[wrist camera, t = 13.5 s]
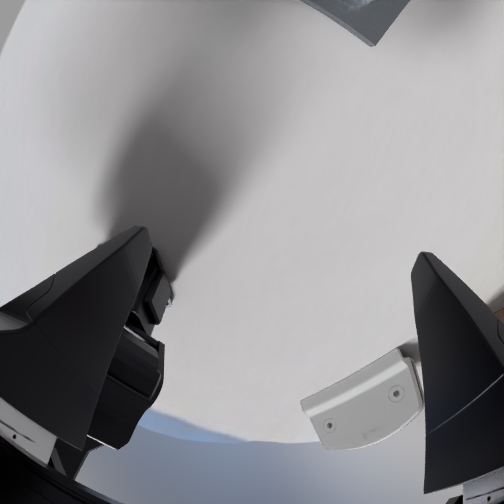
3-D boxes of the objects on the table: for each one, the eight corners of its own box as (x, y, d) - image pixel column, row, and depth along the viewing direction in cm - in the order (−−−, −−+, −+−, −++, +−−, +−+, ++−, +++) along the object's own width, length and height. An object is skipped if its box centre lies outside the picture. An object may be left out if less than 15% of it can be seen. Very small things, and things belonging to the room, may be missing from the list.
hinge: (399, 345, 30) (430, 417, 24) (410, 348, 33) (438, 412, 27) (297, 402, 38) (316, 464, 31) (316, 400, 41) (334, 457, 34)
